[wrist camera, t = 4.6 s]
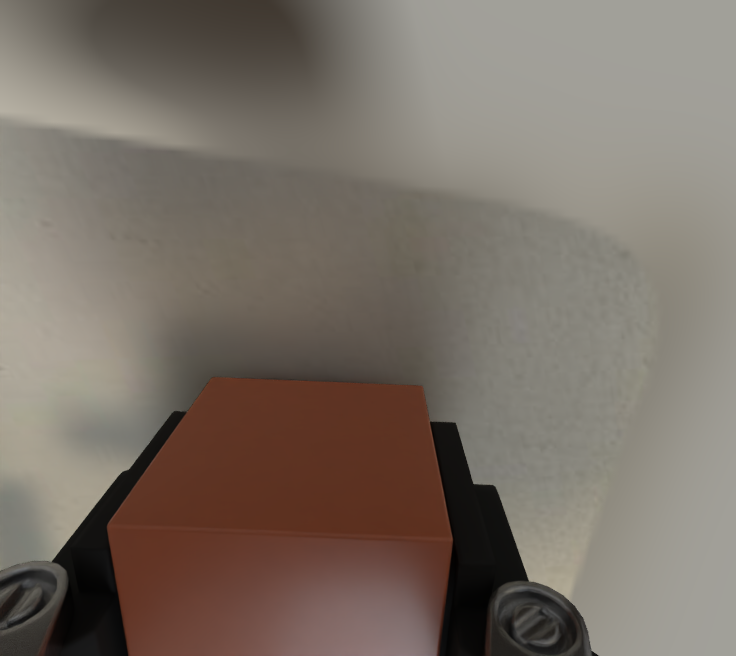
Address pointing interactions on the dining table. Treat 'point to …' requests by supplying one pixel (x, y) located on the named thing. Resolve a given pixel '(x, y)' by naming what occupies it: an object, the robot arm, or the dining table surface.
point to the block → (288, 526)
